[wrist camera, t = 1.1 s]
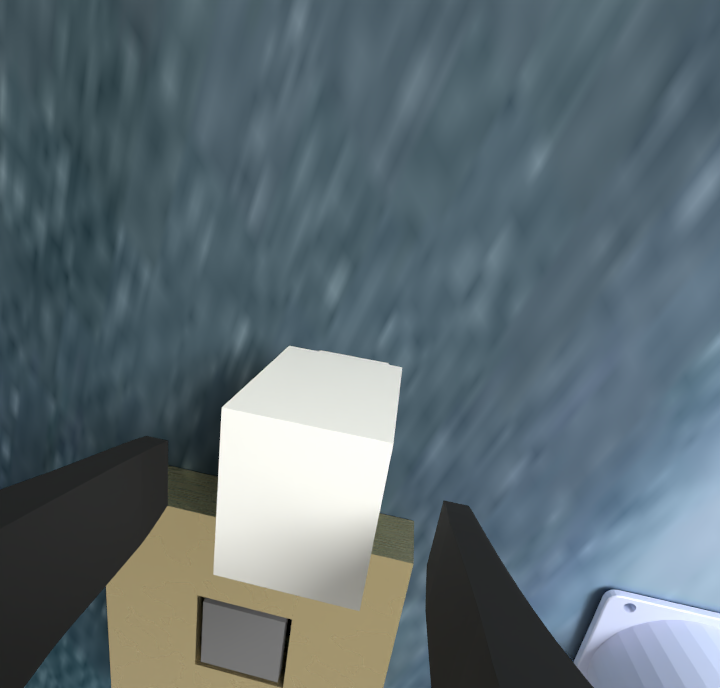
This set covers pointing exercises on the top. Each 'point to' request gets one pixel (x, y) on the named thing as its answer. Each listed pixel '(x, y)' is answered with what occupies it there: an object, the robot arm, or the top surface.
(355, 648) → the socket plate
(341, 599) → the plug
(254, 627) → the panel
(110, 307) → the top surface
